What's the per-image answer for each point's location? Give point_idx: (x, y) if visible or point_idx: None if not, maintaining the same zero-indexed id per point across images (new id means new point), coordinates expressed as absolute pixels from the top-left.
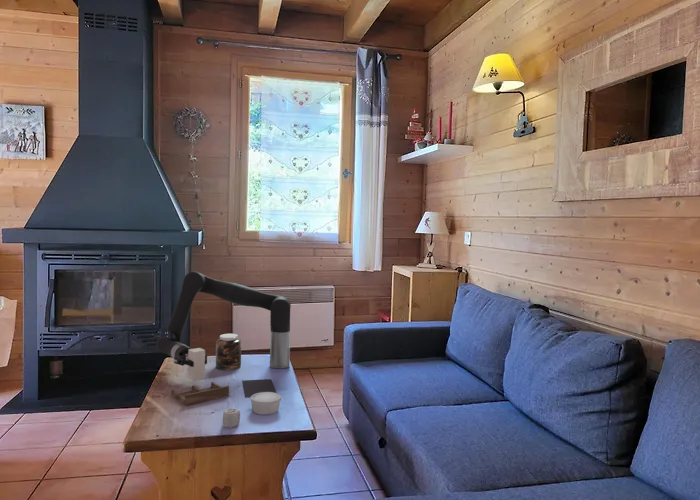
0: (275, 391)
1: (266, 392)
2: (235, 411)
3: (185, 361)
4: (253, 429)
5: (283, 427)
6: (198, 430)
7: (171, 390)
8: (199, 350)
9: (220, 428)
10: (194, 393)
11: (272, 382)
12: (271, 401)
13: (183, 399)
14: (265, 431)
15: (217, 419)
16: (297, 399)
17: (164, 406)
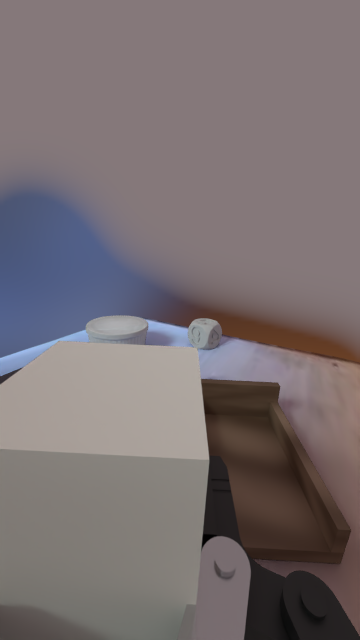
0: (8, 373)
1: (94, 330)
2: (201, 319)
3: (258, 569)
4: (183, 331)
5: (148, 323)
6: (260, 352)
7: (349, 529)
8: (105, 355)
9: (224, 345)
10: (248, 382)
11: None
12: (128, 316)
13: (282, 413)
14: (174, 326)
15: (215, 360)
16: (27, 350)
17: (354, 472)
